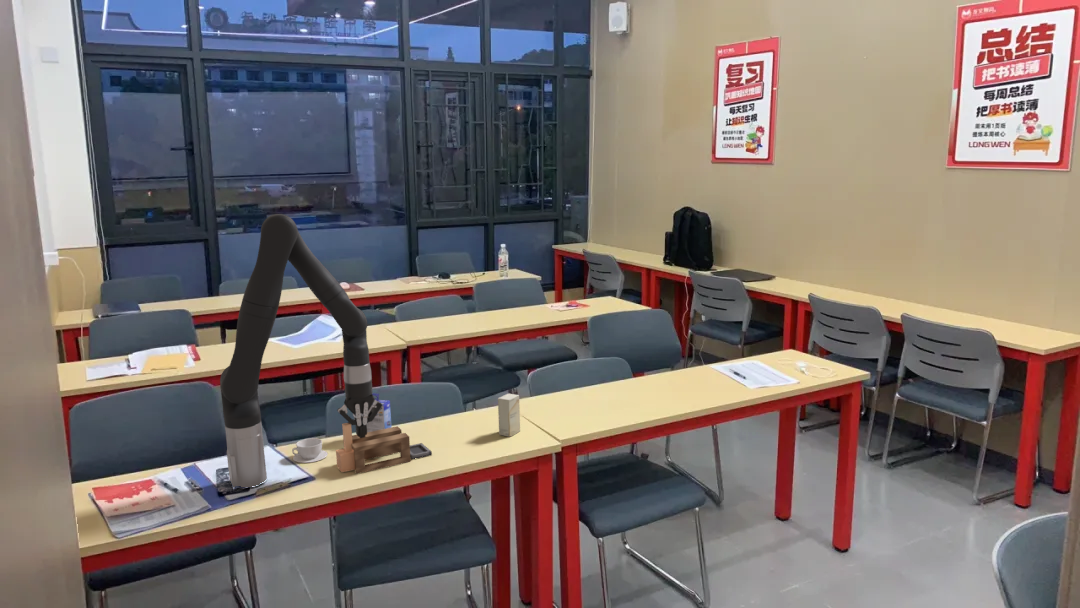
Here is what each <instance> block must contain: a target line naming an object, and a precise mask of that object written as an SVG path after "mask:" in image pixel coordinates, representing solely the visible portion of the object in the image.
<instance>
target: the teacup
mask: <svg viewBox="0 0 1080 608" xmlns="http://www.w3.org/2000/svg"><path fill="white" fill-rule="evenodd" d="M295 446H296V447H293V448H292V451H291V452H292V454H293V456H292V460H293V461H294V462H295V463H301V464H302V463H303V464H304V463H306V464H307V463H313V462H314V463H315V462H318V461H321V460H324V459H325V458H326V457H328V452H327V450H326V451H325V450H323V449H322V448H323V440H322V439H320V438H316V437H311V438H310V437H309V438H305V439H301V440H299V441H297V442H296V443H295ZM295 450H296V451H297V453H295V452H294V451H295Z"/></svg>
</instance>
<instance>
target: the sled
mask: <svg viewBox="0 0 1080 608" xmlns="http://www.w3.org/2000/svg"><path fill="white" fill-rule="evenodd" d="M341 425H342V426H341V427H342V438H343V439H342V440H343V448H339V449H335V456H336V457H335V459H336V467H337V468H338V470H340V472H341V473H346V472H350V471H355V462H354V450H353V449H352V446H351V444H353V443H352V435H353V432H352V431H353V430H352V425H351V424H350V423H349V422H348V421H347V422H345V423H342V424H341Z"/></svg>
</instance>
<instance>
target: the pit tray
mask: <svg viewBox="0 0 1080 608" xmlns="http://www.w3.org/2000/svg"><path fill="white" fill-rule="evenodd" d="M432 455H433V452H432V450H431V449H429V447H427V446H426V445H425V444H423V443H422V442H420V443H415V444H412V445H411V444H410V457H411V460H416V459H415V458H418V459H421V458H420V457H422V458H426V457H430V456H432Z"/></svg>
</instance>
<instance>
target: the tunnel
mask: <svg viewBox="0 0 1080 608" xmlns="http://www.w3.org/2000/svg"><path fill="white" fill-rule="evenodd" d="M352 443H353V444H351V446H352V449H353V450H354V462H355V470H354V473H356V474H357V475H358V474H362V473H367V472H371V471H374V470H375V471H376V470H378V469H384V468H387V467H388V466H389V467H392V466H397V465H401V463H402V464H406V463H410V461H412V458H410V445H411V443H410V436H409V435H408V434H407V433H406V432H403V433H402V429H401V428H400V427H399V426H397V425H396V426H391V428H387V429H382V430H377V431H372V432H367V435H365V437H363V438H360V437H358V436H357V434H352ZM398 452H399V453H400V455H399V456H397V457H393V458H388V459H384V460H381V461H376V462H372V463H371V462H370V463H367V464H366V460H371V459H375V458H380V457H385V456H388V455H389V454H390V455H393V453H394V454H399V453H398ZM390 455H389V456H390Z"/></svg>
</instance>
